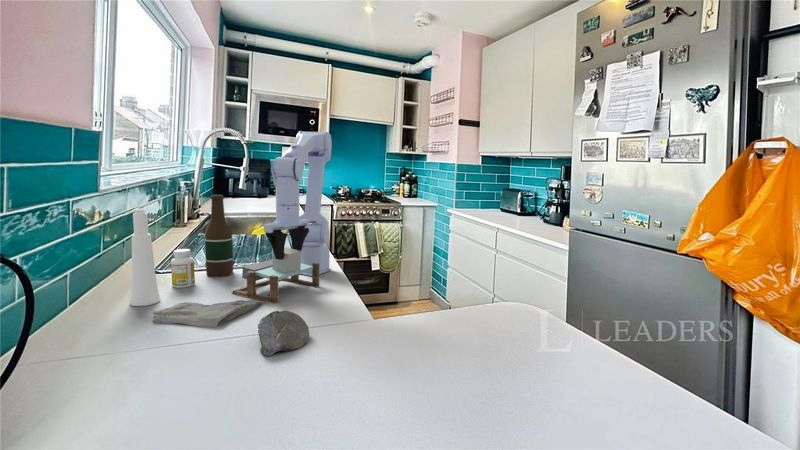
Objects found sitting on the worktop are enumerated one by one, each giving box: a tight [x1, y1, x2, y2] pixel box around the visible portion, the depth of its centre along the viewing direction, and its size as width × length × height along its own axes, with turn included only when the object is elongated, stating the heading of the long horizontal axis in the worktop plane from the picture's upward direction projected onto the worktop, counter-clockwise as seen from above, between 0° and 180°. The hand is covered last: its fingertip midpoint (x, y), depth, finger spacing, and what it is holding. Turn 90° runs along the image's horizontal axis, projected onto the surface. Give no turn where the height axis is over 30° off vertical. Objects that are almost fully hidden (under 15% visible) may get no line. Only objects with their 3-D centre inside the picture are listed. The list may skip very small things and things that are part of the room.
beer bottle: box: [204, 194, 234, 278], centre depth 114 cm, size 8×8×24 cm
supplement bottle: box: [170, 248, 196, 289], centre depth 103 cm, size 5×5×10 cm
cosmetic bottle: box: [129, 208, 161, 307], centre depth 88 cm, size 6×6×22 cm
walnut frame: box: [231, 263, 320, 304], centre depth 102 cm, size 18×14×6 cm
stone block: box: [272, 246, 302, 273], centre depth 99 cm, size 5×5×5 cm
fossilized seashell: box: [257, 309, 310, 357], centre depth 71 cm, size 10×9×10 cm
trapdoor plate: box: [241, 258, 313, 282], centre depth 101 cm, size 14×12×3 cm
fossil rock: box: [152, 299, 263, 328], centre depth 85 cm, size 18×15×2 cm
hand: (288, 256), depth 99 cm, fingers open, 6 cm apart
